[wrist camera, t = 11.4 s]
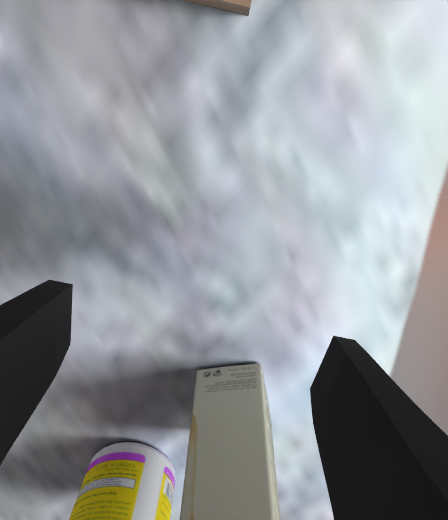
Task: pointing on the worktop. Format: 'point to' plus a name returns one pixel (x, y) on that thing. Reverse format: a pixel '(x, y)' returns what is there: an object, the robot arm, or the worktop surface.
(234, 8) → the walnut block
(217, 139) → the worktop surface
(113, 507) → the supplement bottle
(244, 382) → the skincare box
